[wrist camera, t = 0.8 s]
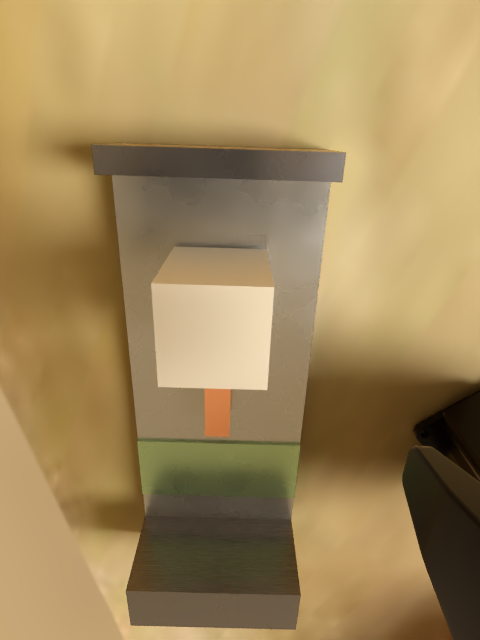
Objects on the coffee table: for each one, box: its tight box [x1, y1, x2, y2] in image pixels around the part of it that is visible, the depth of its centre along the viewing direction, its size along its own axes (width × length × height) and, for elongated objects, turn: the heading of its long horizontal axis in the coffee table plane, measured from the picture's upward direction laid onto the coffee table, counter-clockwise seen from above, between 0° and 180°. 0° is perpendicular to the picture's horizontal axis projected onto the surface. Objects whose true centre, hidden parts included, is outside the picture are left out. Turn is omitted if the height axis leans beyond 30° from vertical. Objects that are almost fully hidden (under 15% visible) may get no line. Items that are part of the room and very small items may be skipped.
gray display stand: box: [91, 143, 346, 630], centre depth 19 cm, size 24×9×6 cm, turn 178°
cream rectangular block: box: [151, 246, 274, 437], centre depth 17 cm, size 9×4×5 cm, turn 178°
